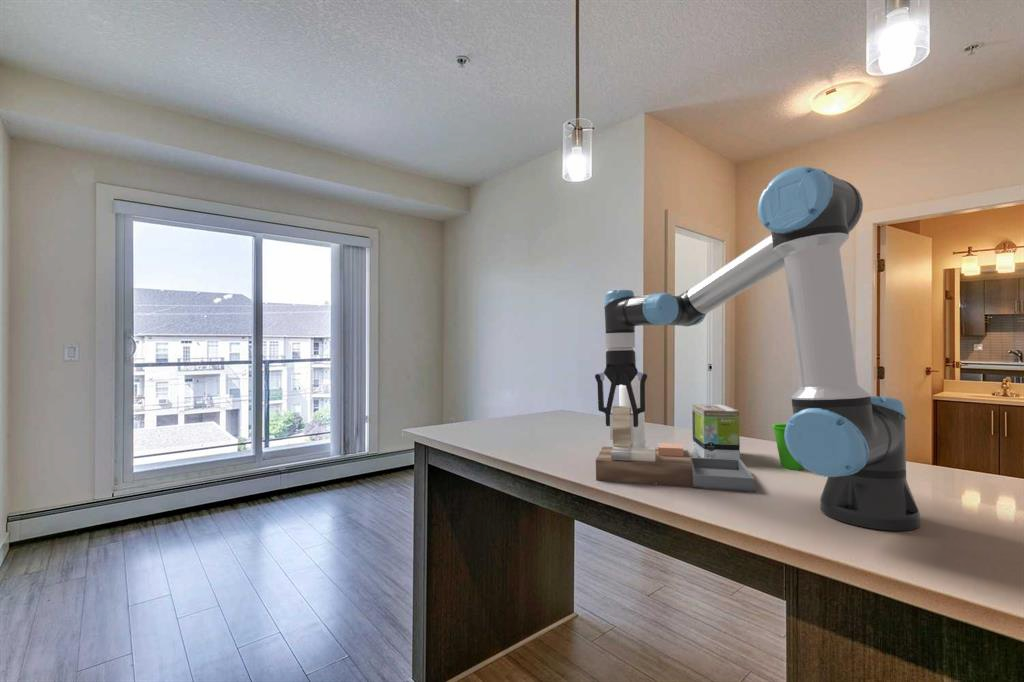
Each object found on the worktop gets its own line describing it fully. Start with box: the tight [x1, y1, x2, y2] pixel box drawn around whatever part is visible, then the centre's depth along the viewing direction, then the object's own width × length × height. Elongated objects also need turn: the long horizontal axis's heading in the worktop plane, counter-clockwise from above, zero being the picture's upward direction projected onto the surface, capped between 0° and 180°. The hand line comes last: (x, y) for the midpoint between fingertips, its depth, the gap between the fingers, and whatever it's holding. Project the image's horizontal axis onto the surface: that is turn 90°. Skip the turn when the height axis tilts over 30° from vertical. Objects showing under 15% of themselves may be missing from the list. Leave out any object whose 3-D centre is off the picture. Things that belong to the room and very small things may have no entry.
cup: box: [771, 422, 804, 471], centre depth 126 cm, size 9×9×11 cm
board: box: [595, 446, 693, 487], centre depth 121 cm, size 16×22×5 cm
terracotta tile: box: [658, 442, 684, 457], centre depth 123 cm, size 6×6×2 cm
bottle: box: [618, 354, 646, 448], centre depth 151 cm, size 8×8×30 cm
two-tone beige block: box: [611, 405, 633, 461], centre depth 123 cm, size 16×4×12 cm, turn 163°
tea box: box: [691, 404, 741, 460], centre depth 139 cm, size 15×10×15 cm, turn 171°
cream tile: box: [630, 447, 656, 462], centre depth 118 cm, size 6×6×2 cm
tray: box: [690, 456, 756, 493], centre depth 116 cm, size 18×13×3 cm
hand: (622, 438), depth 123 cm, fingers closed on two-tone beige block, 4 cm apart
